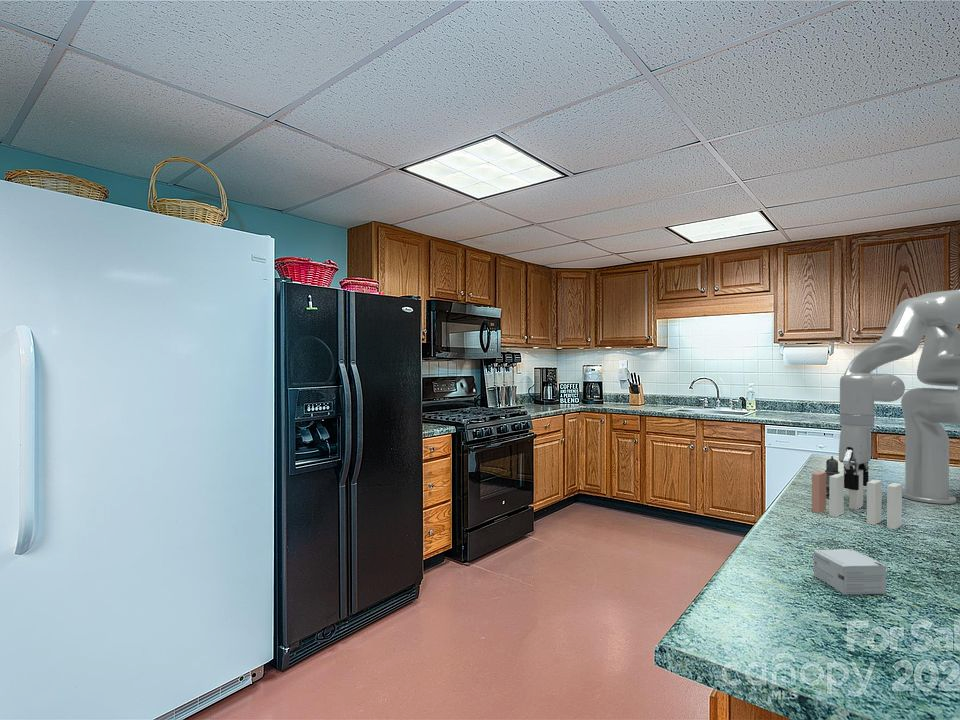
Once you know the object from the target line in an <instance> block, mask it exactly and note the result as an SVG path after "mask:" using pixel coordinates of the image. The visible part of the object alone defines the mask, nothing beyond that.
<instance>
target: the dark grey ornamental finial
mask: <svg viewBox="0 0 960 720" xmlns="http://www.w3.org/2000/svg"><path fill="white" fill-rule="evenodd" d="M838 461H839V460H837V459H835V458H834V456H833V455H832V456H830V458H828V459H827V460H826V462H825V468H826V469H825V470H824V472H826V499H827V498H829V476H832V475H835V474H840V473H841V472H840V471H839V462H838Z"/></svg>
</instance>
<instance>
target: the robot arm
mask: <svg viewBox="0 0 960 720" xmlns="http://www.w3.org/2000/svg"><path fill="white" fill-rule="evenodd" d="M956 325H960V289H953V290H942V291H941V290H940V291H934V292H927V293H924V294H921V295H919V296H916V297H914V296H913V297H909V298H906V299H904V300H902V301H901V302H900V303H899V304H898V305H897V307H896V309H895V310H894V313H893V315H892V316H891V318H890V320H889V322H888V324H887V326H886V327H885V330H884V332H883V334H882V336H881V338H880V339H878V341H876V342H875V343H872V344H871V345H869V346H868V347H867V348H865V349H863V350H862V351H860V353H858V354H857V355H855V357H854V358H853V359H852V360H851V361H850V362H849V364H848V366H847V368H846V370H845V372H844V374H843V375H842V376H841V377H840V380H839V426H841V428H840V432H839V433H840V434H839V444H838V445H839V446H838V461H839V462H840V463H843V475H844V489H847V490H849V489H851V490H859V475H857V473H858V469H859V470H863V487H867V482H869V462H870V461H871V459H872V432H871V431H872V430H871V428H872V429H873V428H874V427H875V402H880V403H882V402H883V403H891V402H895V401H898V400H900V399H901V401H900V405H901V407H900V408H901V411H902V414H903V415H902V416H903V418H904V419H903V420H904V427H905V428H904V430H905V444H904V445H905V447H904V448H905V451H904V452H905V453H904V454H905V459H904V463H905V466H904V467H905V469H904V473H905V475H904V476H905V477H904V480H905V481H904V482H905V483H904V487H905V488H902V498H905V499H907V500H911V501H917V502H921V503H929V504H938V505H940V504H941V505H949V504H950V505H951V504H956V503H957V497H955V496H954V495H951V494H950V438H949V435H948V433H947V431H946V430H945V427H944V426H943V425H942V424H947V425H959V426H960V330H959V329H958V327H956ZM923 338H924V342H923V347H922V350H921V352H920V353H921V354H920V356H919V361H918V365H917V370H916V378H917V379H918V380H919V382H920V383H923V384H925V385H929V386H937V387H938V386H939V387H940V386H941V387H954V388H955V387H956V388H957V389H951V388H950V389H949V388H948V389H947V388H936V387H935V388H933V387H918V388H917V387H916V388H911V389H910V390H907V391H906V392H905V390H906V386H905V385H906V384H905V383H904V381H903V380H902V379H901V378H900V377H898V376H896V375H893V374H891V373H889V374H888V373H872V372H873V371H874V370H876V369H878V368H879V367H881V366H883V365H886V364H888V363H889V364H890V363H892V362H895V361H898V360H900V359H904V358H906V357H909V356H911V355H913V354H915V353H916V352H917V350H918V349H919V346H920V345H921V341H922V340H923Z"/></svg>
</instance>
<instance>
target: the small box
mask: <svg viewBox="0 0 960 720" xmlns="http://www.w3.org/2000/svg"><path fill="white" fill-rule="evenodd" d="M813 576H815V578H816V577H817V578H816V579H818V578H819V579H818V580H820V579H821V580H822V582H823V581H824V582H823V583H825V582H826V583H827V584H826V583H825V584H826V585H828V584H829V585H831V586H832V587H834V588H835V589H834V588H833V589H834V590H836V589H837V590H839V591H840V592H842V593H843V594H842V593H841V594H842V595H844V594H850V595H878V594H879V595H882V594H883V595H885V593H886V592H887V565H885V564H884V563H881V562H879V561H877V560H875V559H873V558H872V557H870V556H868V555H865V554H863V553H860V552H858V551H857V550H854V549H852V548H842V549H841V548H840V549H839V548H838V549H814V550H813ZM821 580H820V581H821ZM829 585H828V586H829ZM831 586H830V587H831ZM832 587H831V588H832ZM837 590H836V591H837ZM839 591H838V592H839ZM840 592H839V593H840ZM886 594H887V593H886Z"/></svg>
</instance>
